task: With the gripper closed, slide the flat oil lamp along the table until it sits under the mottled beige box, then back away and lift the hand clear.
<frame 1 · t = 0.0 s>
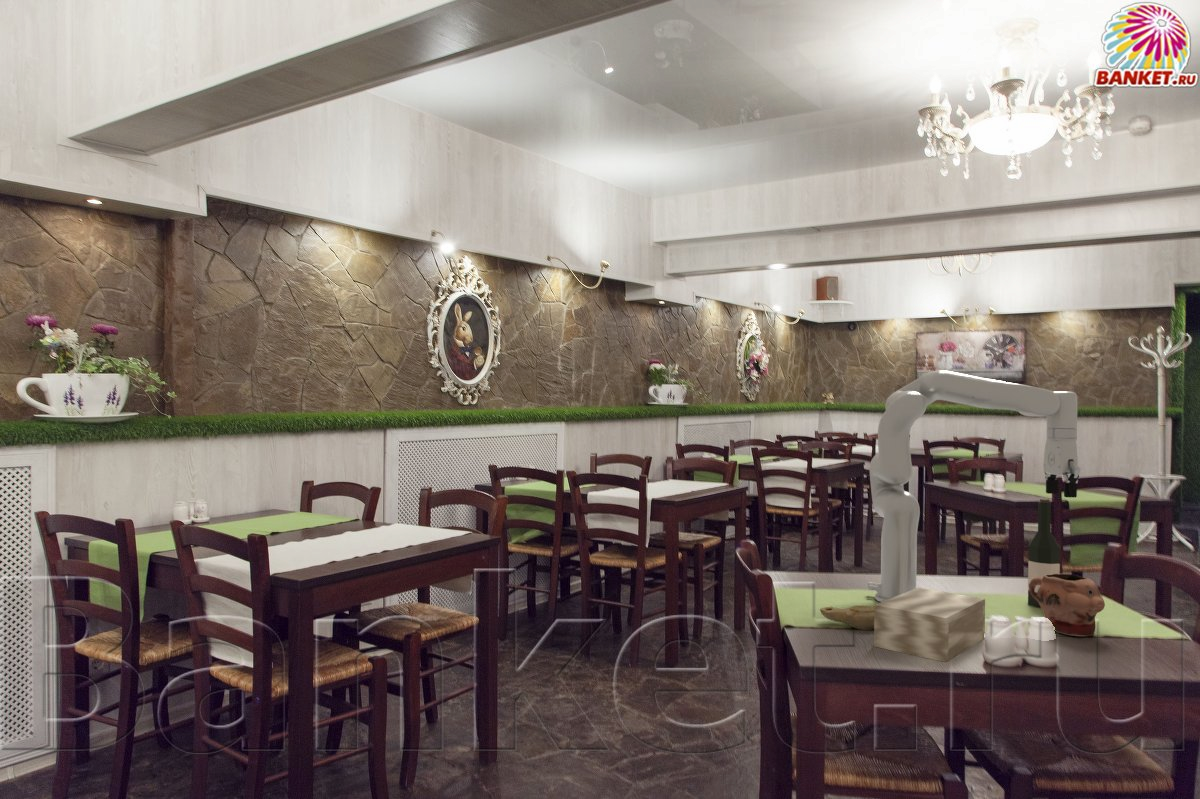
hand: (1060, 495, 228), 31 cm above the table, tool pointing down, fingers open, 9 cm apart
mottled beige box: (930, 642, 189), on the table
animal face pitcher: (1064, 631, 201), on the table
wine bottle: (1043, 606, 227), on the table
oil lamp: (853, 627, 201), on the table
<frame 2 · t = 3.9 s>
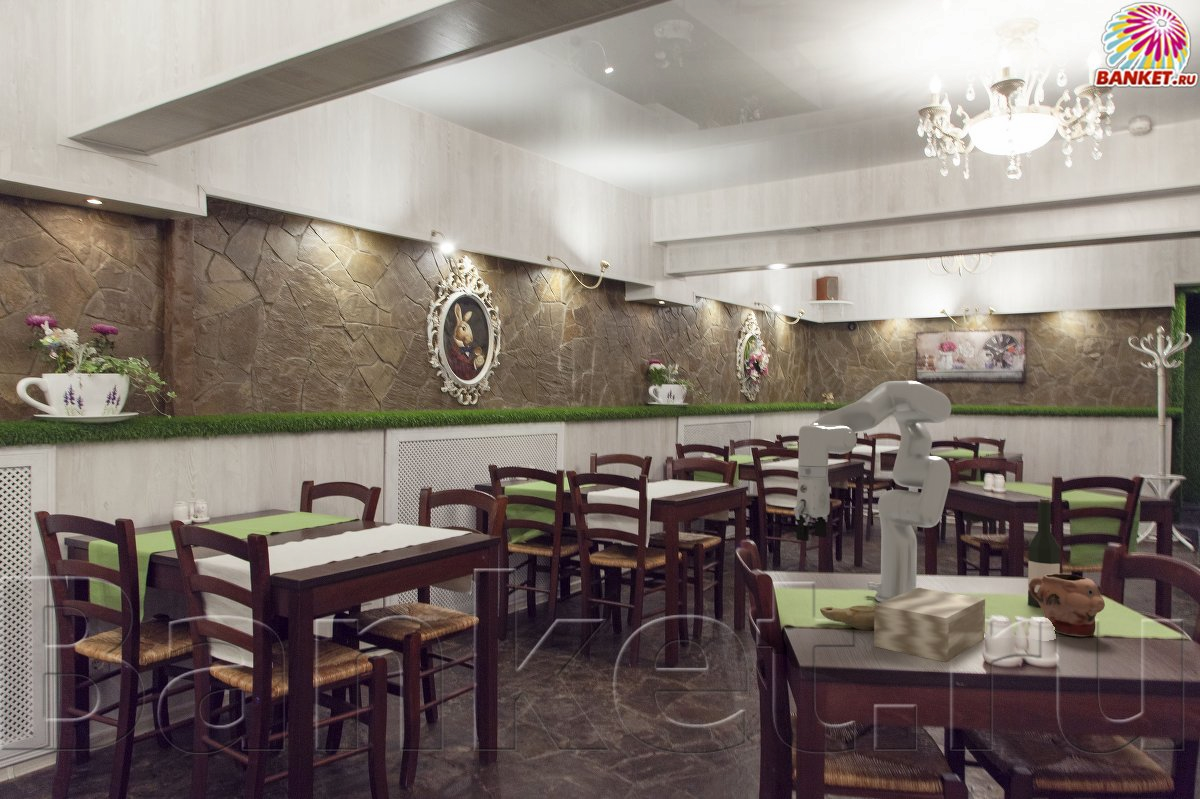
hand: (811, 538, 210), 21 cm above the table, tool pointing down, fingers open, 9 cm apart
nothing on the table moved.
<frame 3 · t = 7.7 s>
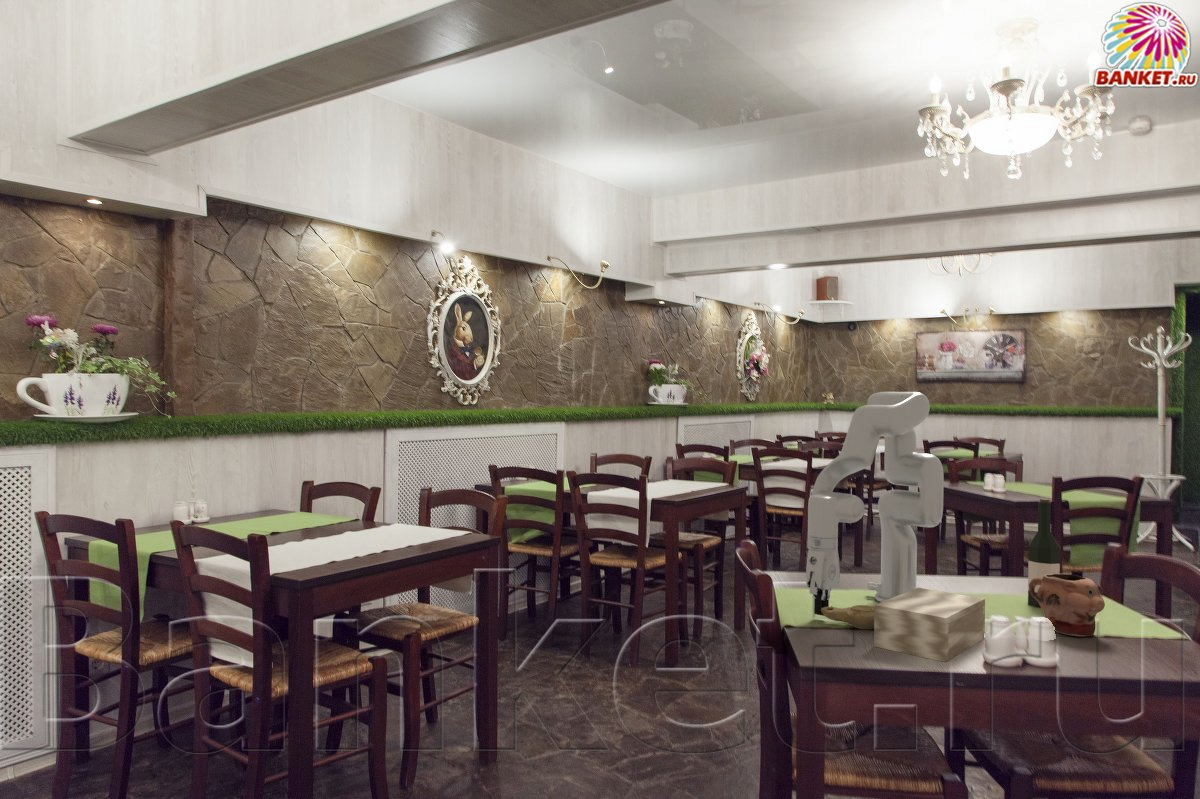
hand: (821, 614, 207), 1 cm above the table, tool pointing down, fingers closed
oil lamp: (854, 627, 201), on the table, touching gripper
everything else where it was.
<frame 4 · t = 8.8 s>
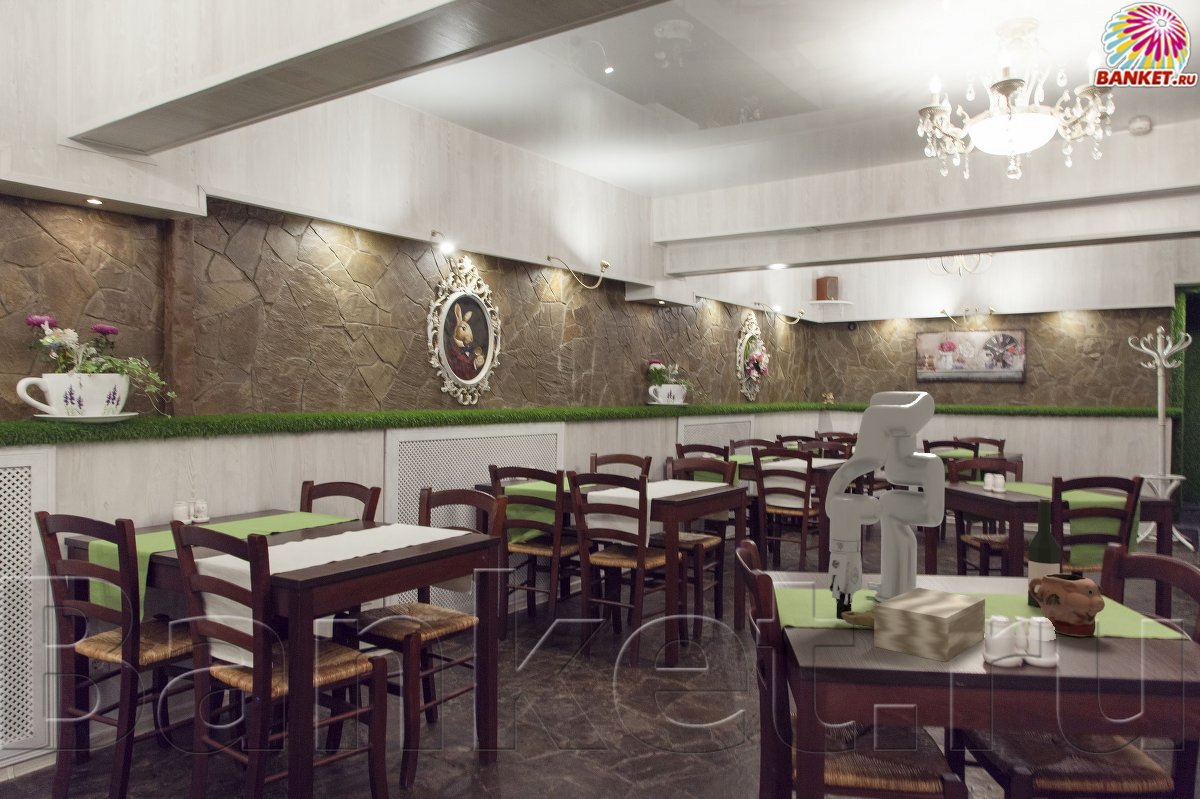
hand: (843, 618, 203), 1 cm above the table, tool pointing down, fingers closed
oil lamp: (875, 631, 198), on the table, touching gripper
everything else where it was.
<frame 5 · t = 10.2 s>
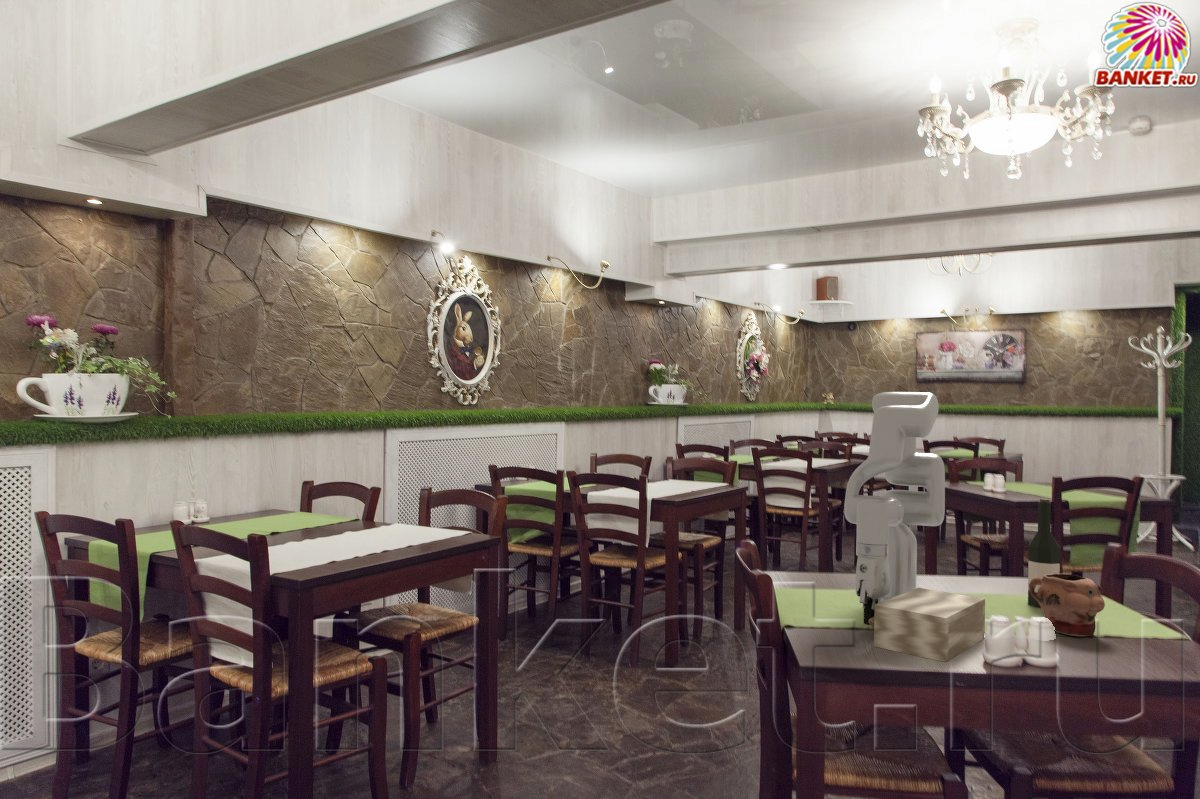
hand: (871, 624, 198), 1 cm above the table, tool pointing down, fingers closed
oil lamp: (901, 635, 194), on the table, touching gripper
everything else where it was.
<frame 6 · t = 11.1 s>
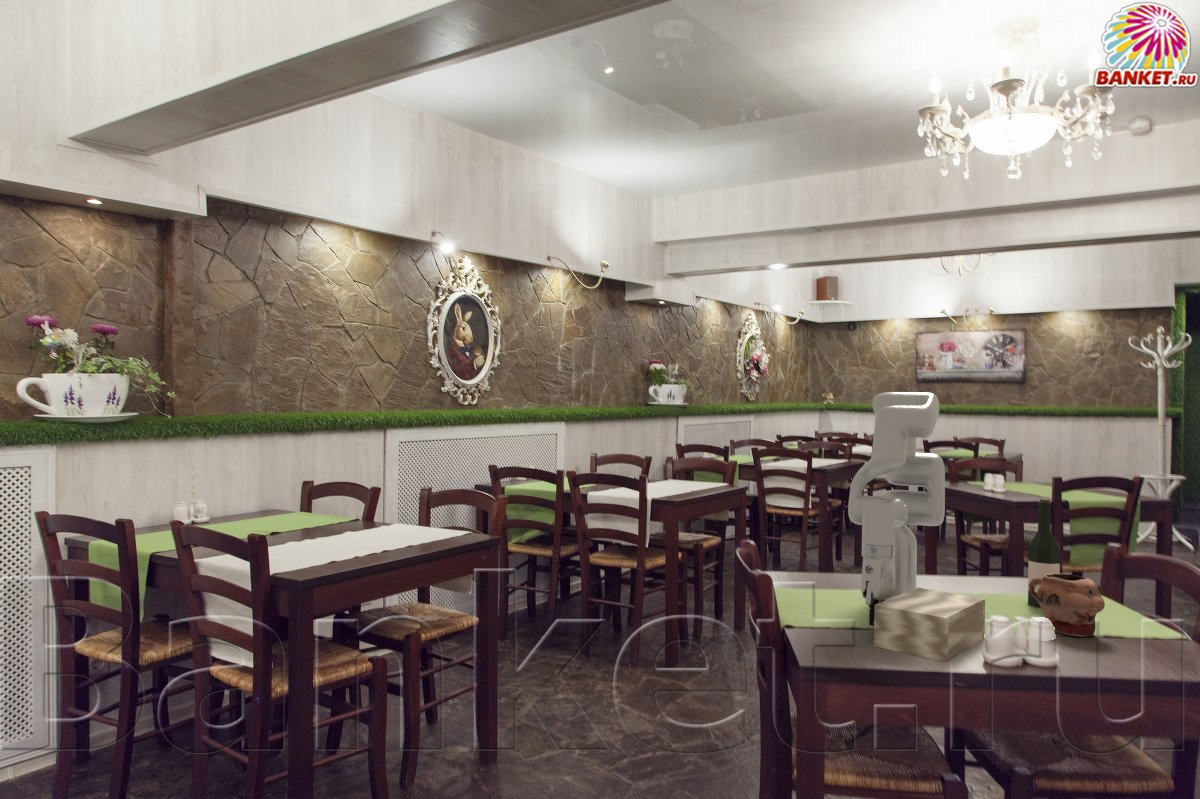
hand: (876, 625, 197), 1 cm above the table, tool pointing down, fingers closed
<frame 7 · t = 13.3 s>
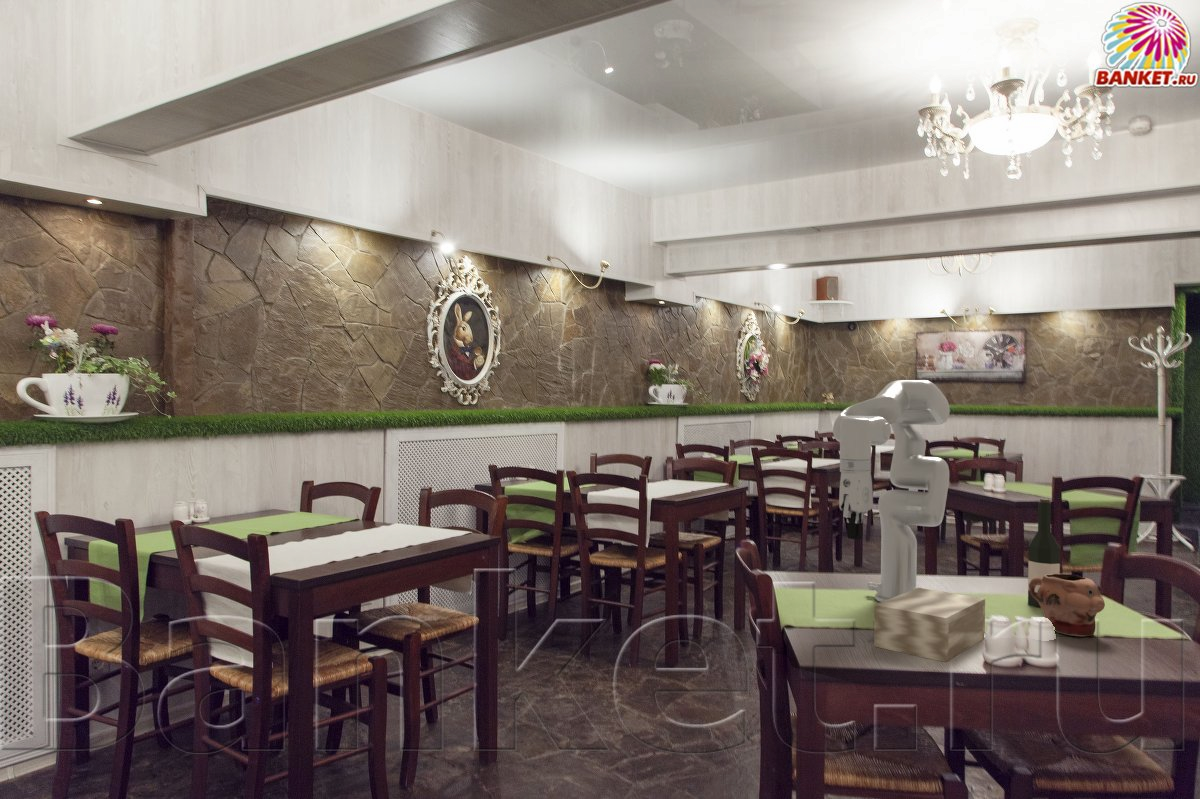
hand: (854, 538, 203), 22 cm above the table, tool pointing down, fingers closed
oil lamp: (904, 637, 194), on the table
everything else where it was.
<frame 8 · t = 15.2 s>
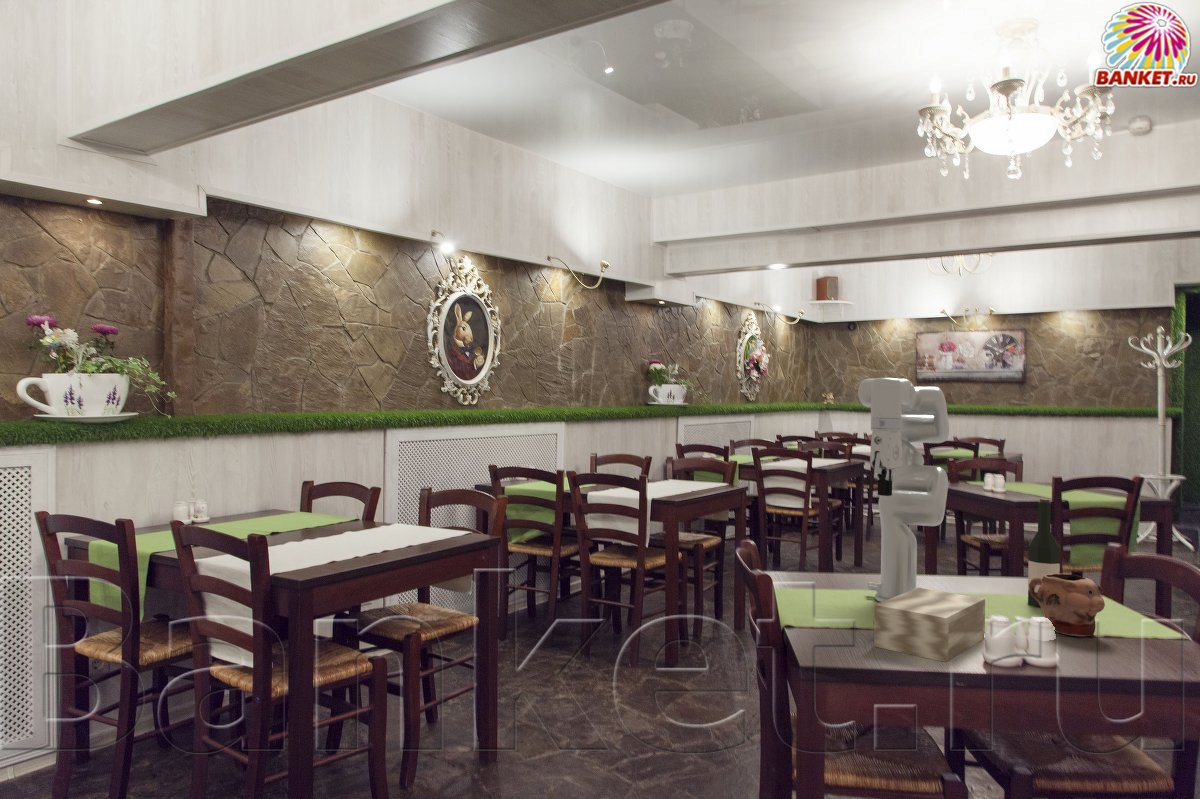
hand: (884, 495, 210), 32 cm above the table, tool pointing down, fingers closed
nothing on the table moved.
at the end: oil lamp inside the target area on the mottled beige box (7.1 cm from its centre), point 0.0 cm above the mottled beige box's base; oil lamp tilted 0°; oil lamp moved 12.6 cm from its start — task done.
